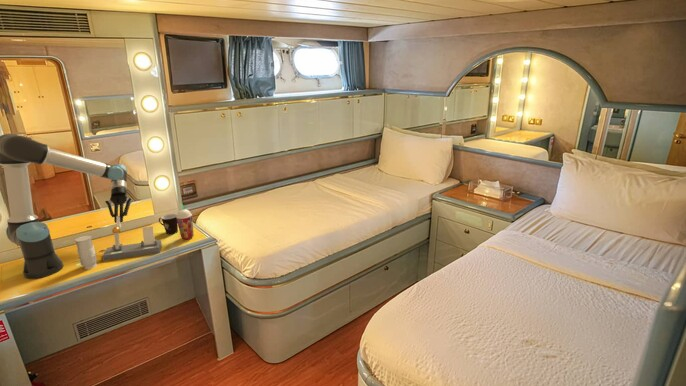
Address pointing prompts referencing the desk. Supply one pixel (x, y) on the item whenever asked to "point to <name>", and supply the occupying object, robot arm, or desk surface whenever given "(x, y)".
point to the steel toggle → (116, 236)
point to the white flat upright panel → (148, 235)
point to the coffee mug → (170, 223)
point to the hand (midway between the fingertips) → (118, 227)
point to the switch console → (132, 250)
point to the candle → (86, 252)
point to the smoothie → (185, 224)
